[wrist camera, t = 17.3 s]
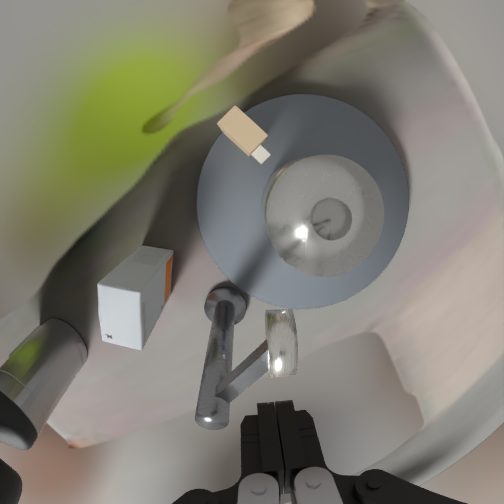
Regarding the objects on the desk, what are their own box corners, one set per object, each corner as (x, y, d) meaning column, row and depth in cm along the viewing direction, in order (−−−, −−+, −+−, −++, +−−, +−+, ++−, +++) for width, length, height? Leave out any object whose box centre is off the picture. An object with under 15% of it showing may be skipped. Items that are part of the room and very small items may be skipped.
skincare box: (172, 295, 34) (142, 352, 23) (140, 289, 34) (100, 342, 22) (175, 248, 32) (141, 292, 21) (141, 243, 32) (94, 282, 21)
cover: (309, 268, 31) (329, 303, 23) (241, 207, 29) (239, 224, 21) (370, 203, 29) (409, 218, 21) (306, 137, 27) (330, 127, 19)
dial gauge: (207, 323, 35) (184, 439, 18) (198, 246, 32) (151, 336, 15) (272, 321, 35) (291, 438, 18) (270, 243, 32) (299, 332, 15)
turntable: (302, 335, 36) (315, 379, 28) (156, 207, 31) (126, 223, 22) (431, 208, 31) (474, 222, 23) (305, 58, 26) (325, 26, 18)
